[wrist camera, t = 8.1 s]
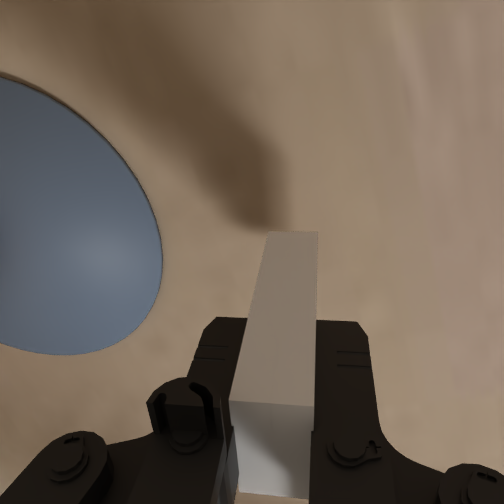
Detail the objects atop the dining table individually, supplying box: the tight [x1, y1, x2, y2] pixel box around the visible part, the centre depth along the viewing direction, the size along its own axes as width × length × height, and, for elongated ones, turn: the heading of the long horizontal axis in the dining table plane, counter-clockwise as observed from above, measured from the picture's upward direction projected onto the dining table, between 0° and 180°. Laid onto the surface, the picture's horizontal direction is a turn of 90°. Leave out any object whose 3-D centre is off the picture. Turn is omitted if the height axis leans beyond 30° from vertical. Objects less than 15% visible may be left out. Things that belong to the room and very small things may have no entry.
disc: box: [0, 77, 163, 355], centre depth 17 cm, size 12×12×1 cm
